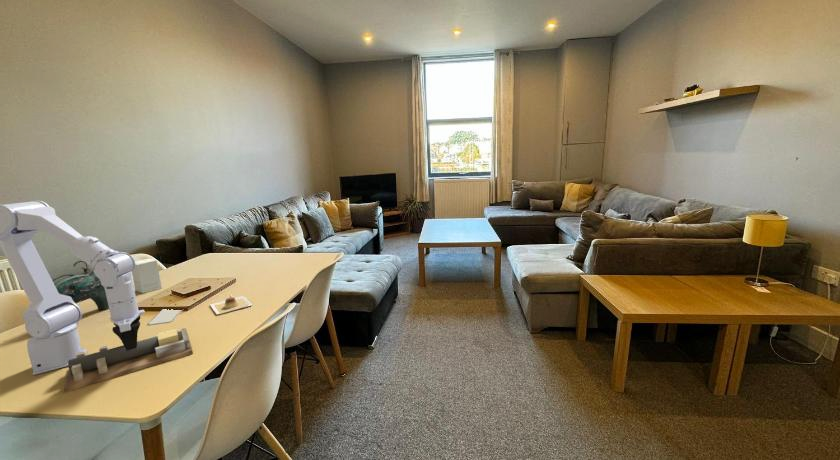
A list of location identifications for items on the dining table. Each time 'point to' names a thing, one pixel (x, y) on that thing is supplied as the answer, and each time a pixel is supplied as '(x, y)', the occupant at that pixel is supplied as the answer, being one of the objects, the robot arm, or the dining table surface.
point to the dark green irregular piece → (83, 287)
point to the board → (127, 363)
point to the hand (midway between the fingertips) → (131, 346)
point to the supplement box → (146, 276)
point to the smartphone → (165, 316)
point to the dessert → (230, 304)
